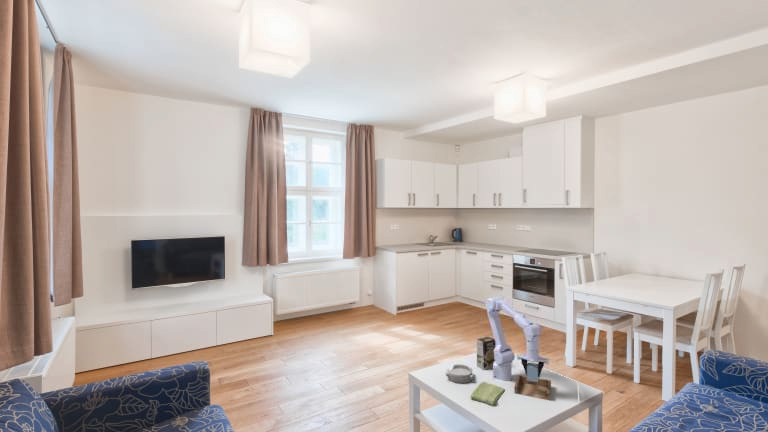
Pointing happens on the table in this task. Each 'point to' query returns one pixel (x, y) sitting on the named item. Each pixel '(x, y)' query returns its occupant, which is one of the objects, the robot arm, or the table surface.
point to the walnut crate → (533, 387)
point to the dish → (460, 373)
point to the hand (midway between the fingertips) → (532, 375)
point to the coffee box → (485, 352)
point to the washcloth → (487, 393)
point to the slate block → (532, 372)
